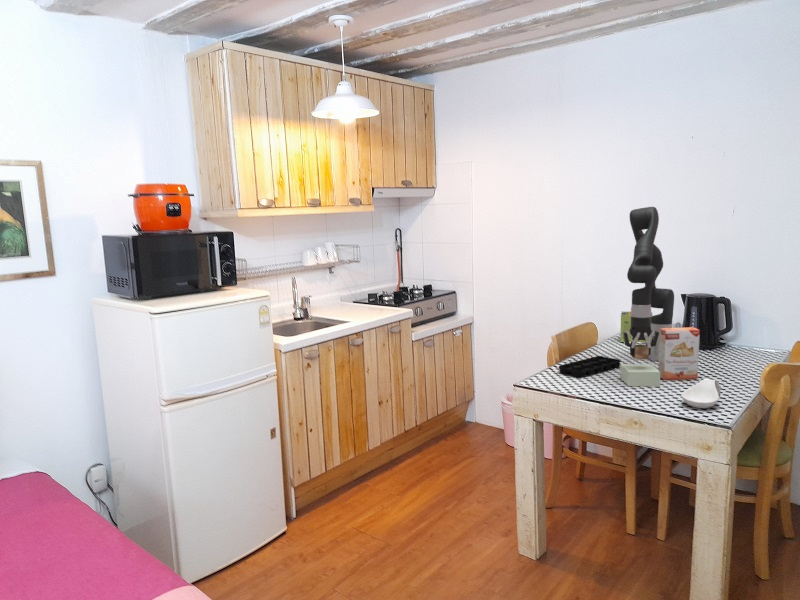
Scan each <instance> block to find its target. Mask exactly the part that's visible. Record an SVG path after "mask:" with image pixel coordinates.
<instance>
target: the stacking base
mask: <svg viewBox="0 0 800 600" xmlns="http://www.w3.org/2000/svg"><path fill="white" fill-rule="evenodd" d="M620 380H621V381H622V382H623V381H624V382H625V383H626V384H627V385H628V386H658V387H660V386H661V377H660V371H659V370H658V368H656V367H655V366H654V365H653V364H651V363H635V364H634V363H631V364H629V363H628V364H626V363H625V364H621V363H620ZM624 382H623V383H624ZM625 383H624V384H625ZM626 384H625V385H626ZM627 385H626V386H627ZM658 387H657V388H658Z"/></svg>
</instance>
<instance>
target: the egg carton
mask: <svg viewBox="0 0 800 600" xmlns="http://www.w3.org/2000/svg"><path fill="white" fill-rule="evenodd" d="M621 362H622V361H621V360H620V359H616V358H611V357H607V356H604V355H597V356H593V357H588V358H585V359H580V360H576V361H573V362H569V363H565V364H560V365H559V366H558V369H559V373H560V374H561V375H565V376H569V375H570V374H571V375H570V376H571V377H572V376H573V378H575V377H576V379H583V378H585V377H586V375H590V376H593V375H595V374H601V372H602V373H603V372H609V371H612V370H616V369H615V368H617V369H619V368H621ZM611 368H613V369H611ZM608 370H609V371H608ZM582 377H583V378H582Z"/></svg>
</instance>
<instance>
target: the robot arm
mask: <svg viewBox="0 0 800 600" xmlns="http://www.w3.org/2000/svg"><path fill="white" fill-rule="evenodd" d="M659 219H660V217H659V211H658V209H657V207H656V206H648V207H647V206H646V207H641V208H636V209H632V210H631V211H630V212H629V222H630V227H631V229H632V234H633V236H634V240H635V245H634V249H633V259H632V262H631V264H630V265H629V267H628V271H627V276H626V277H627V280H628V281H629V283H632V284H644V286H643V287H641V288H635V289H633V290H632V292H631V308H630V312H631V328H630V330H629V331H627V332H624V331H623V332H622V334H623V338H624V342H625V343H624V344H625V346H626V347H628V348H629V355H630V356H631V357H632V358H633V357H634V356H635V348H634V347H635V345H637V344H636V343H637V340H644V341H645V344H644V345H646V346H648V347H649V360H651V361H655V362H659V342H660V328H673V318H674V317H673V316H674V307H675V306H674V305H675V292H674V290H672V289H671V288H657V285H656V281H657V278H658V277H659V275H660V273H661V272H662V270H663V268H664V259H663V256H662V255H663V254H662V252H661V249H660V248H659V247H658V246H657V245H656V244H655V243H654V242H655V239H656V236H657V231H658V227H659ZM644 230H646V231H645V232H644ZM652 309H662V312H661V313H659V314H656V315H655V314H654V315H653V312H652ZM651 312H652V313H651ZM651 314H652V317H651ZM629 334H631V335H632V339H631V343H629V340H628V337H629ZM649 336H650V341H649V338H648V337H649Z"/></svg>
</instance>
